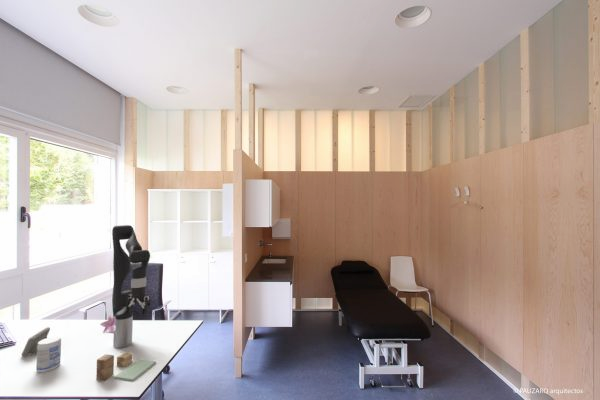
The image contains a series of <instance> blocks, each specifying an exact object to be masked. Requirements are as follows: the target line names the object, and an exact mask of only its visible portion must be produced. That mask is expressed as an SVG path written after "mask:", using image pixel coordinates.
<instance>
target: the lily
mask: <svg viewBox="0 0 600 400" xmlns="http://www.w3.org/2000/svg"><path fill="white" fill-rule="evenodd" d="M99 325H100V326H101V327H102V328H104V329H103V331H102V332H103V333H105V332H107V331H108V332H109V333H111V334H114V330H115V316H113V317H112V316H110V315H108V317H107V320H105V321H103V322H101V323H100V324H99Z"/></svg>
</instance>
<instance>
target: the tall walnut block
mask: <svg viewBox="0 0 600 400" xmlns="http://www.w3.org/2000/svg"><path fill="white" fill-rule="evenodd" d="M114 362H115V355H114V354H104V355H102V356H101V357H99V358H97V359H96V375H95V377H96V378H95V379H96V381H104V382H106V381H107V380H109V379H110V378H111V377H112V375H113V376H114V370H115V369H114V366H115V365H114V364H115V363H114Z"/></svg>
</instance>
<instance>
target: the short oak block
mask: <svg viewBox="0 0 600 400" xmlns="http://www.w3.org/2000/svg"><path fill="white" fill-rule="evenodd" d="M131 363H133V353H132V352H127V351H124V352H123V353H121V354H119V355H118V356H117V357H116V366H117V367H119V368H120V367H122V368H126V367H128V365H131Z"/></svg>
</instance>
